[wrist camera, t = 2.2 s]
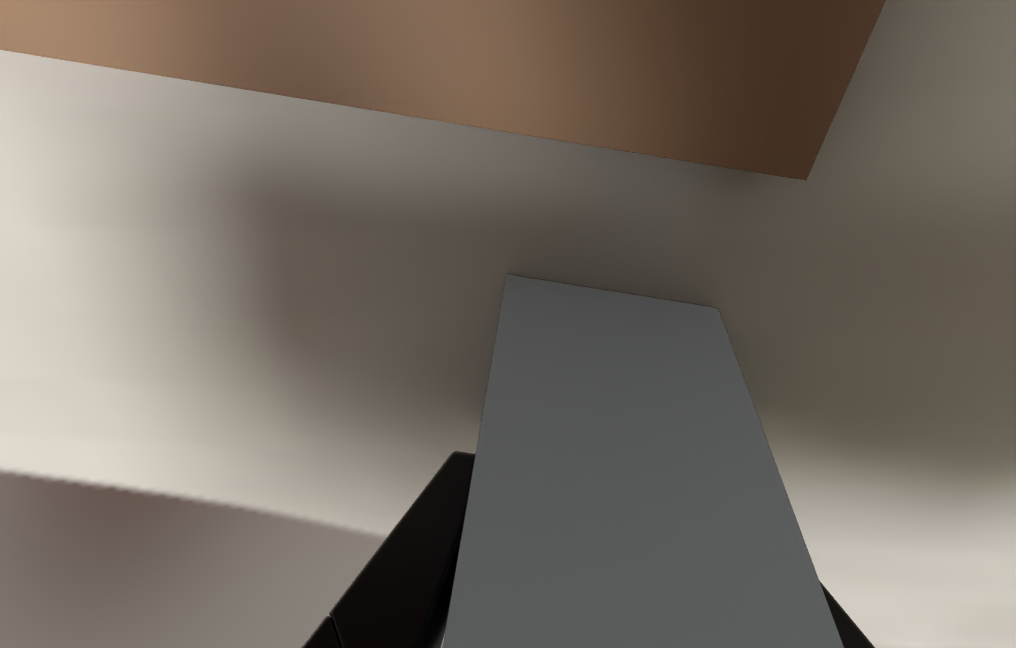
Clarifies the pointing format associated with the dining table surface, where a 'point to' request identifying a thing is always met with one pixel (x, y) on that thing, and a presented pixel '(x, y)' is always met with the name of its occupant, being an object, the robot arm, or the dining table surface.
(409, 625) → the robot arm
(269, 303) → the dining table surface
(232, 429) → the dining table surface
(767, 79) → the socket block
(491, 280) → the dining table surface
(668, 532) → the peg
